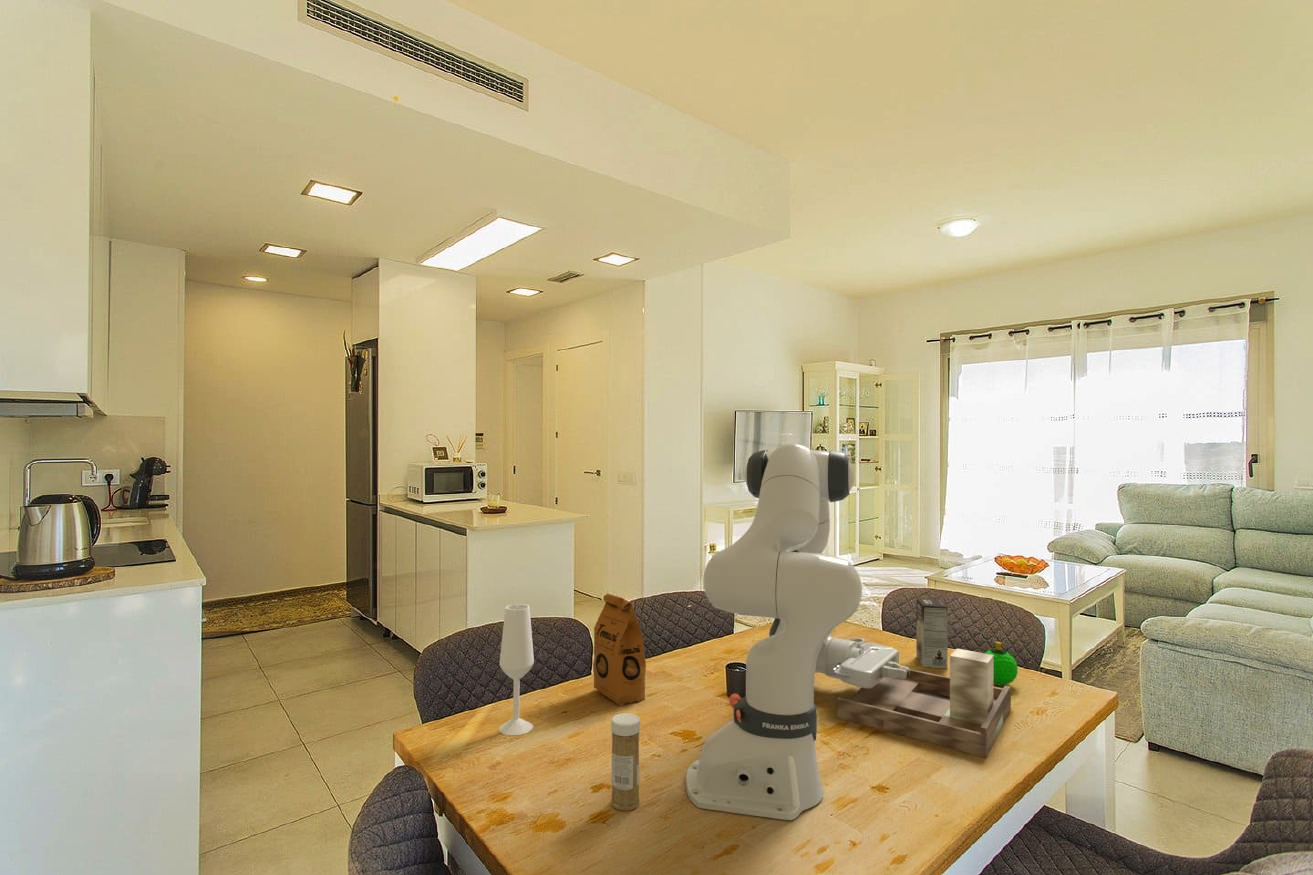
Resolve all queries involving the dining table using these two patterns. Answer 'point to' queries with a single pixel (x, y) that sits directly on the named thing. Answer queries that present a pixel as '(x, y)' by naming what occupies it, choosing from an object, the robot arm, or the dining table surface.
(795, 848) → the dining table surface
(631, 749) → the spice jar
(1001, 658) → the ornament
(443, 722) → the dining table surface
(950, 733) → the tray
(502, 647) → the champagne flute
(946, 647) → the coffee box
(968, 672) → the birch block
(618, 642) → the coffee package
